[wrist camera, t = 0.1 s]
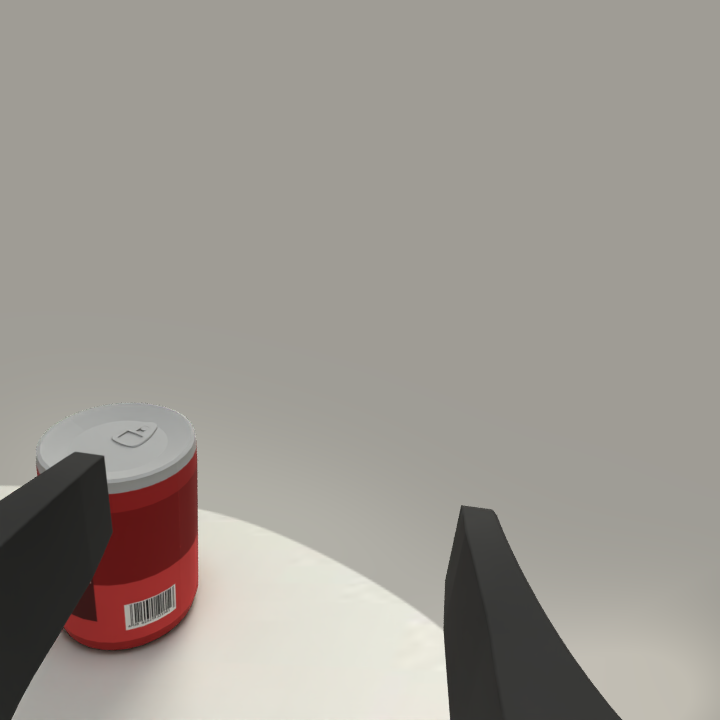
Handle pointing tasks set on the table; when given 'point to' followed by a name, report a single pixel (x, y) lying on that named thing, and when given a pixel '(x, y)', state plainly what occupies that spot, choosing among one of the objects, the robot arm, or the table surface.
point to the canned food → (136, 520)
